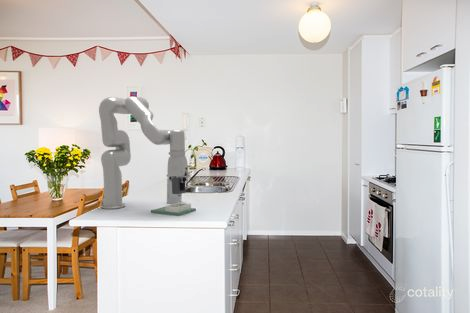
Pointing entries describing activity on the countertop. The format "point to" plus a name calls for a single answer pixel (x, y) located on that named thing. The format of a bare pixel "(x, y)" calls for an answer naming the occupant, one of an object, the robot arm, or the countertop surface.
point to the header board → (175, 209)
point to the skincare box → (172, 197)
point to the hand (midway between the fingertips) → (178, 189)
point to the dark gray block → (176, 186)
